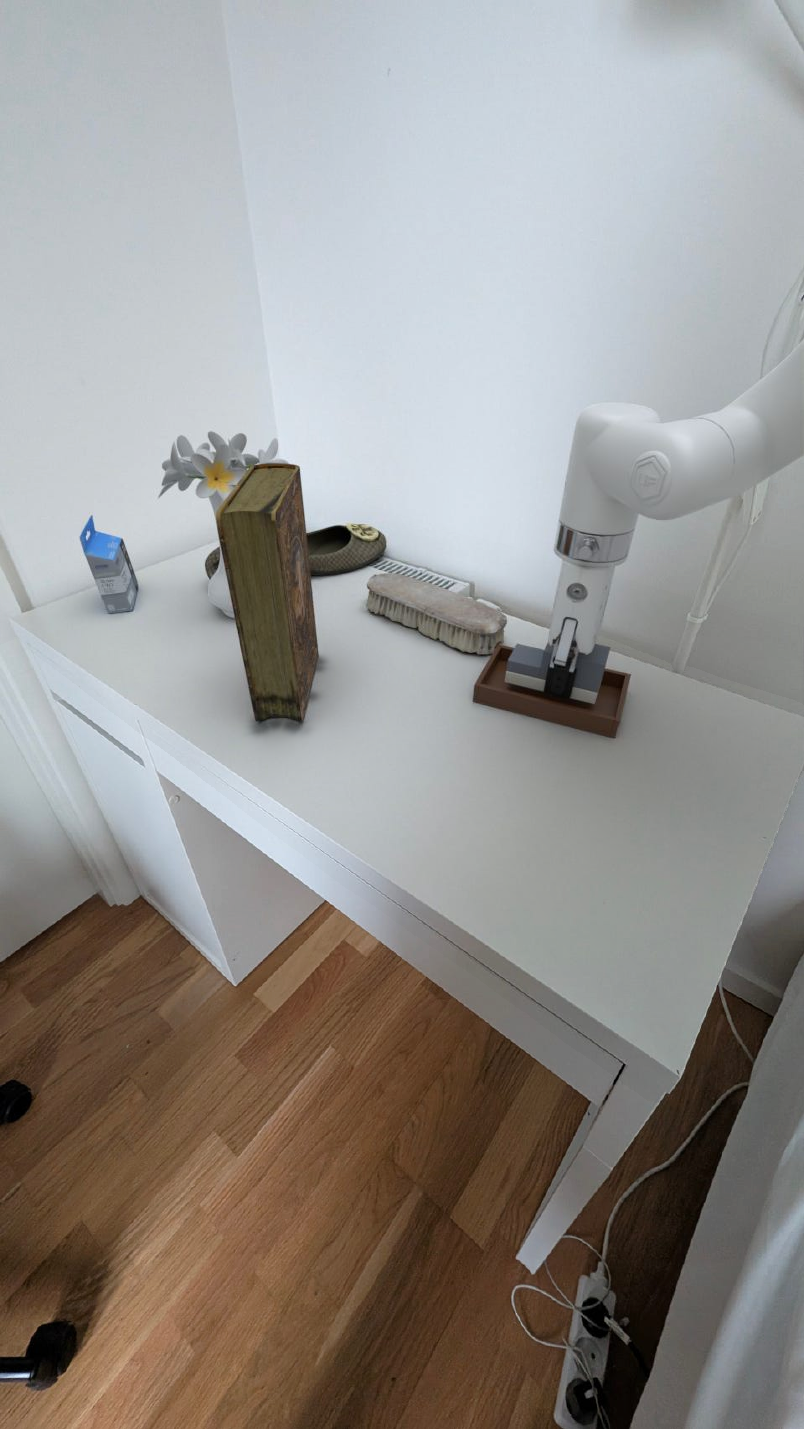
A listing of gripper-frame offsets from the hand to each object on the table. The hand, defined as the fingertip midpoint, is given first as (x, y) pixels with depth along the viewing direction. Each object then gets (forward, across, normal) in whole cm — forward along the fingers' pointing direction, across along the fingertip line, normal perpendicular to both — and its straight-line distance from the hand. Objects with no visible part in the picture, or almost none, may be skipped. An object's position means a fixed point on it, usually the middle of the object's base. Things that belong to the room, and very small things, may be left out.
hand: (561, 681), depth 71 cm
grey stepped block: (+1, 0, +1) cm, 1 cm away
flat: (+3, +20, +49) cm, 53 cm away
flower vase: (+3, +4, +50) cm, 50 cm away
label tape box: (+3, -2, +69) cm, 69 cm away
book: (+3, -12, +32) cm, 34 cm away
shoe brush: (+3, +10, +21) cm, 24 cm away
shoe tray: (+3, 0, +1) cm, 3 cm away
